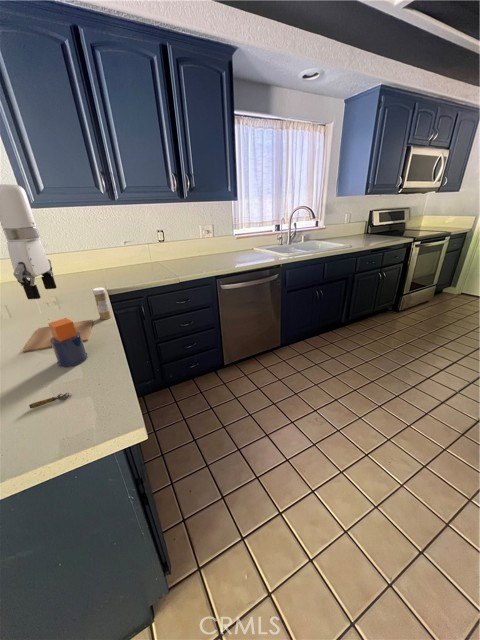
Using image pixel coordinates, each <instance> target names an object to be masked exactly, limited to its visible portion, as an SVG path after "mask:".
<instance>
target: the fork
mask: <svg viewBox="0 0 480 640" xmlns="http://www.w3.org/2000/svg"><path fill="white" fill-rule="evenodd" d="M71 396H72V394H70V393H69V392H66V393H64V394H62V393H59V394H58V395H56V396H52V397H50V398H47V399H42V400H39V401H36V402H32V403H30V404H29V406H28V407H29V409H34V408H38V407H41V406H43V405H46V404H49V403H52V402H55V401H57V400H58V401H64V400H66V399H68V398H70V397H71Z"/></svg>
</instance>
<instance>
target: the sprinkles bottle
mask: <svg viewBox="0 0 480 640" xmlns="http://www.w3.org/2000/svg"><path fill="white" fill-rule="evenodd" d="M92 294H93V296H94V299H95V303H96V307H97V311H98V315H99V319H100V320H108V319H110V318H111V317H112V315H111V312H110V306H109V303H108V298H107V296H106V289H105V288H104V287H95V288H93V289H92Z"/></svg>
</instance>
